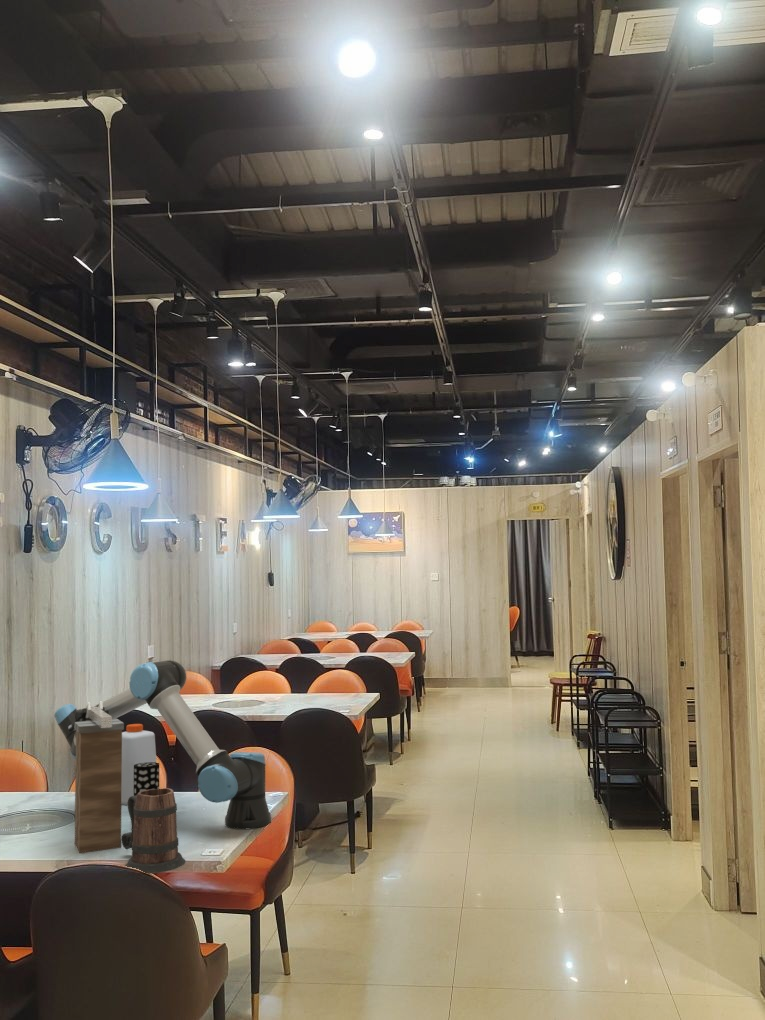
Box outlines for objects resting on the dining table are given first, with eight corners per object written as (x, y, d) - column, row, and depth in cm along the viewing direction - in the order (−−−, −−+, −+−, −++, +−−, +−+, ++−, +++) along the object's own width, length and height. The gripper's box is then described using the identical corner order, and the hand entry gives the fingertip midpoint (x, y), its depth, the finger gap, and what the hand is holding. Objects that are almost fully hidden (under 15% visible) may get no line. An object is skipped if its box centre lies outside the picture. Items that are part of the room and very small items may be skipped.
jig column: (72, 843, 265) (74, 721, 269) (115, 837, 270) (116, 718, 274) (77, 853, 253) (79, 726, 257) (122, 847, 259) (123, 723, 263)
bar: (86, 716, 279) (87, 707, 280) (96, 715, 281) (96, 706, 281) (101, 728, 251) (101, 717, 251) (111, 727, 252) (111, 716, 252)
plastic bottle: (163, 798, 323) (163, 723, 326) (129, 807, 311) (130, 728, 314) (138, 794, 332) (139, 721, 335) (105, 801, 320) (105, 726, 324)
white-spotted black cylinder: (151, 821, 289) (151, 761, 291) (163, 825, 283) (164, 764, 285) (128, 826, 283) (129, 765, 285) (141, 831, 277) (141, 768, 279)
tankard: (197, 862, 242) (197, 789, 244) (147, 877, 229) (147, 801, 231) (148, 848, 257) (149, 780, 259) (98, 862, 244) (99, 790, 246)
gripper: (111, 742, 291) (122, 714, 275) (61, 747, 284) (69, 718, 267) (110, 722, 295) (120, 692, 279) (60, 726, 288) (68, 696, 271)
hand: (95, 705), depth 273 cm, fingers closed on bar, 3 cm apart
